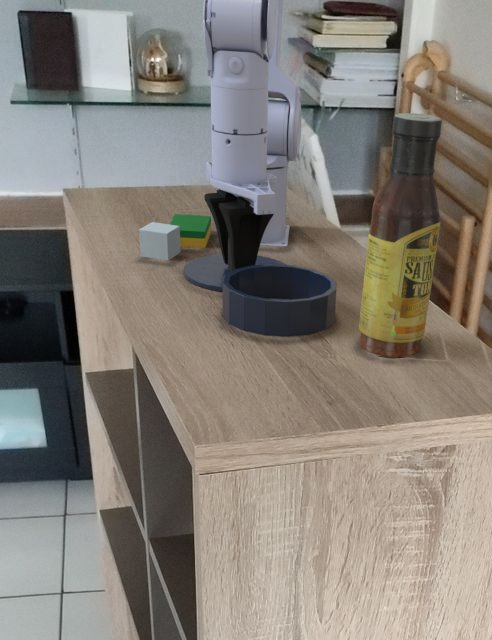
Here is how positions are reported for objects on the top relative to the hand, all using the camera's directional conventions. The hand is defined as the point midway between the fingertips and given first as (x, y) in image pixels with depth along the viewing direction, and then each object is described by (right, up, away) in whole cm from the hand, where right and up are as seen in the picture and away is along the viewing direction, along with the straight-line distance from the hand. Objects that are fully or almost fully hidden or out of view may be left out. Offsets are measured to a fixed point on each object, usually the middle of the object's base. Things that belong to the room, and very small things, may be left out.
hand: (238, 267), depth 99 cm
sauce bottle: (+15, -13, -13) cm, 24 cm away
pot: (+5, -9, -8) cm, 13 cm away
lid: (0, -1, +1) cm, 1 cm away
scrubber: (-7, +7, +11) cm, 15 cm away
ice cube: (-10, +3, +6) cm, 11 cm away
